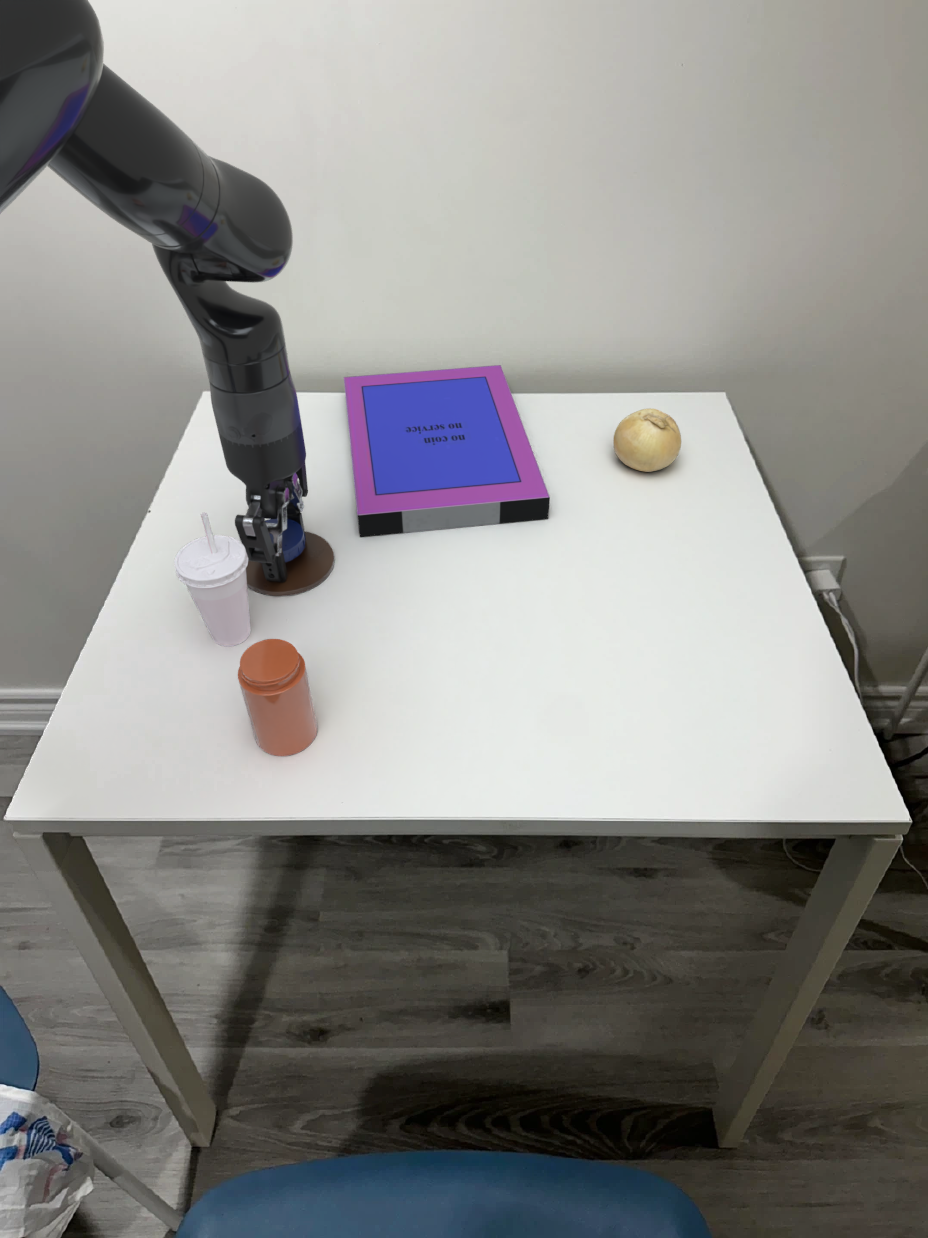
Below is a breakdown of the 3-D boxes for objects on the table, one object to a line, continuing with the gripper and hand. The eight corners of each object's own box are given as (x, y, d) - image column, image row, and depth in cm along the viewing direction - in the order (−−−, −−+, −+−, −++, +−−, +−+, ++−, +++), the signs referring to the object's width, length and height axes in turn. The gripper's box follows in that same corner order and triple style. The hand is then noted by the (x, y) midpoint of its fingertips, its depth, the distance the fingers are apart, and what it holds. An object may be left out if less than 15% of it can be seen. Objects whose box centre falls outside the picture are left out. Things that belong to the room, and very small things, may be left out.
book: (500, 365, 114) (549, 497, 93) (500, 385, 116) (548, 519, 95) (343, 377, 112) (357, 515, 91) (345, 397, 114) (359, 537, 93)
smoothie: (278, 625, 83) (252, 510, 73) (232, 666, 79) (199, 551, 69) (229, 601, 86) (198, 487, 76) (183, 640, 82) (144, 525, 72)
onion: (600, 468, 102) (606, 416, 97) (625, 436, 107) (632, 385, 102) (663, 487, 99) (674, 434, 94) (686, 454, 104) (697, 402, 99)
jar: (248, 755, 72) (226, 683, 66) (262, 705, 76) (243, 633, 69) (311, 757, 72) (296, 686, 65) (322, 708, 76) (309, 636, 69)
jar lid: (295, 522, 91) (293, 511, 90) (313, 553, 87) (311, 542, 86) (241, 539, 89) (238, 528, 88) (258, 571, 85) (255, 561, 84)
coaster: (224, 590, 87) (223, 586, 86) (257, 530, 94) (256, 525, 93) (319, 601, 86) (319, 596, 85) (345, 539, 93) (344, 534, 92)
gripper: (273, 467, 72) (301, 610, 84) (320, 382, 82) (339, 521, 94) (188, 459, 73) (228, 602, 85) (245, 377, 83) (273, 515, 95)
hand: (286, 559), depth 89 cm, fingers closed on jar lid, 5 cm apart
